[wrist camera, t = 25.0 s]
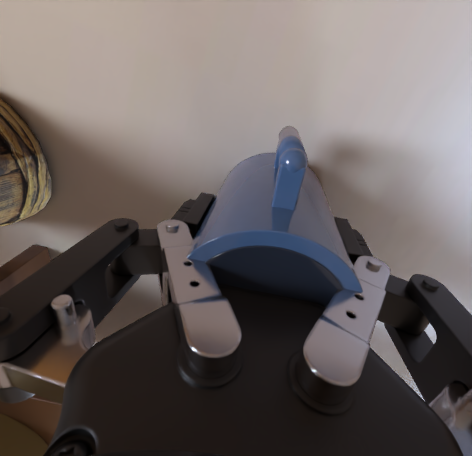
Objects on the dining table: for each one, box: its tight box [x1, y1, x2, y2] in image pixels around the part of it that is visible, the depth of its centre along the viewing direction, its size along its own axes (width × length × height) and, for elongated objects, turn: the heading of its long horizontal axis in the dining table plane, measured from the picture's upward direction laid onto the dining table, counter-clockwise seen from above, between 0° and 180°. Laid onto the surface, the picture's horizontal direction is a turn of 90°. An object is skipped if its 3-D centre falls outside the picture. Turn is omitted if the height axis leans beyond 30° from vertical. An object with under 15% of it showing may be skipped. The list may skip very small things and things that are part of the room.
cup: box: [187, 126, 363, 308], centre depth 12 cm, size 6×8×9 cm
